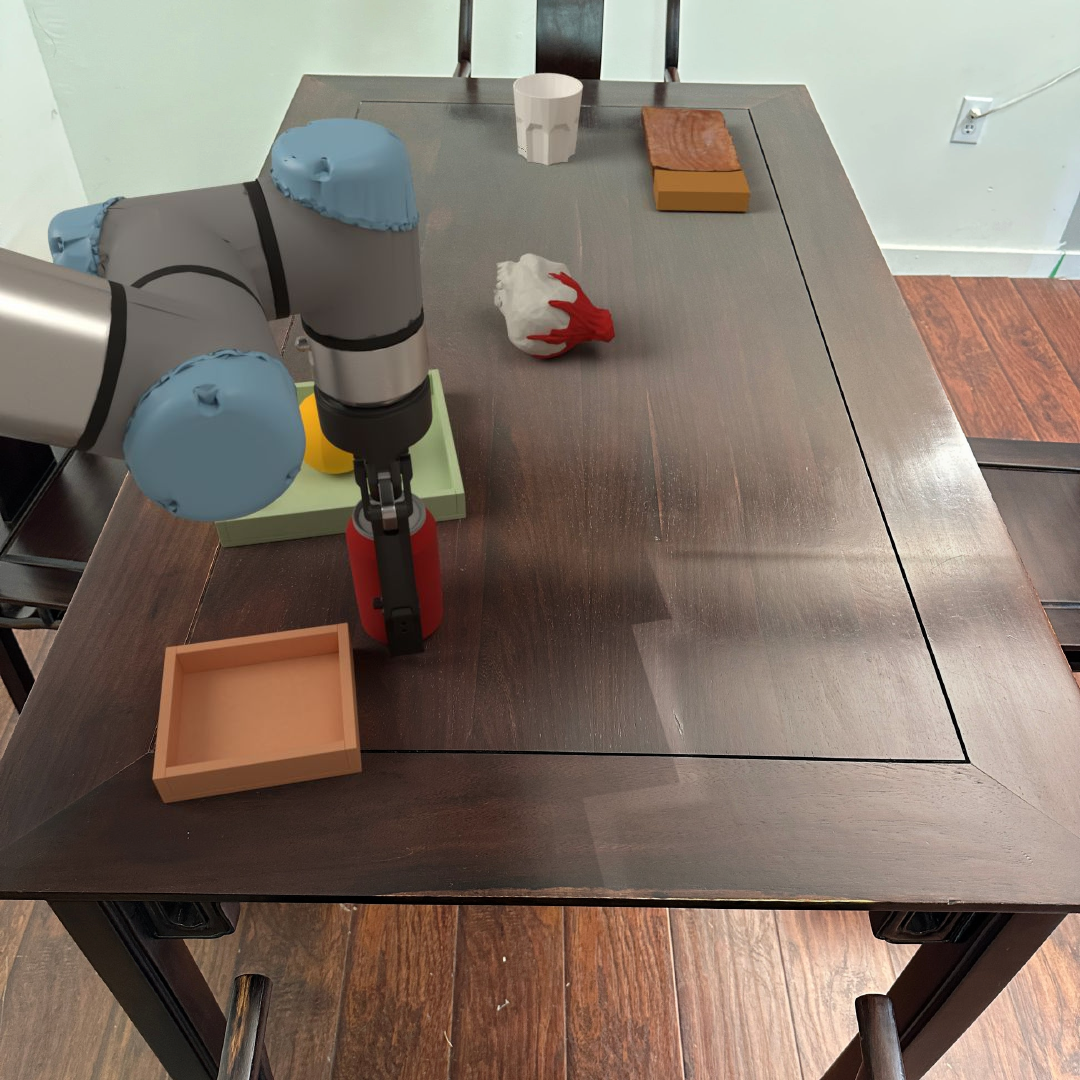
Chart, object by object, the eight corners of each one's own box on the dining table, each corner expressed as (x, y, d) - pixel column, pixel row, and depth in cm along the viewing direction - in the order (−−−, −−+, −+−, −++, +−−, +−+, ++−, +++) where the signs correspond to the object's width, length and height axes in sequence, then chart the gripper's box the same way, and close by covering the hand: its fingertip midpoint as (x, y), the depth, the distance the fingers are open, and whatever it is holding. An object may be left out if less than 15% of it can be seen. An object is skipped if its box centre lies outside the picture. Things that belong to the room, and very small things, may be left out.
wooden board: (653, 212, 132) (655, 188, 130) (638, 126, 154) (640, 105, 152) (748, 213, 132) (752, 190, 130) (720, 128, 154) (723, 106, 152)
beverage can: (439, 585, 82) (430, 478, 74) (448, 646, 77) (439, 539, 69) (359, 594, 81) (341, 487, 73) (363, 657, 76) (343, 549, 68)
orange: (328, 425, 96) (317, 362, 91) (396, 447, 94) (389, 383, 89) (280, 472, 91) (265, 407, 86) (350, 496, 89) (340, 432, 84)
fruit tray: (222, 548, 85) (214, 522, 83) (229, 415, 98) (223, 390, 96) (466, 518, 88) (464, 492, 86) (440, 393, 102) (438, 368, 100)
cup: (588, 146, 148) (592, 79, 141) (566, 172, 141) (569, 102, 134) (528, 136, 150) (528, 69, 143) (503, 161, 144) (502, 92, 137)
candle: (494, 305, 113) (617, 336, 112) (467, 356, 105) (600, 390, 104) (502, 234, 107) (633, 267, 106) (475, 284, 99) (616, 319, 98)
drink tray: (164, 803, 67) (152, 779, 65) (176, 672, 75) (165, 647, 73) (362, 772, 69) (356, 747, 67) (352, 647, 77) (347, 622, 75)
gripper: (308, 299, 69) (348, 528, 85) (317, 487, 55) (363, 722, 70) (413, 289, 70) (432, 518, 86) (449, 472, 56) (465, 706, 72)
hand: (401, 609), depth 78 cm, fingers open, 8 cm apart
